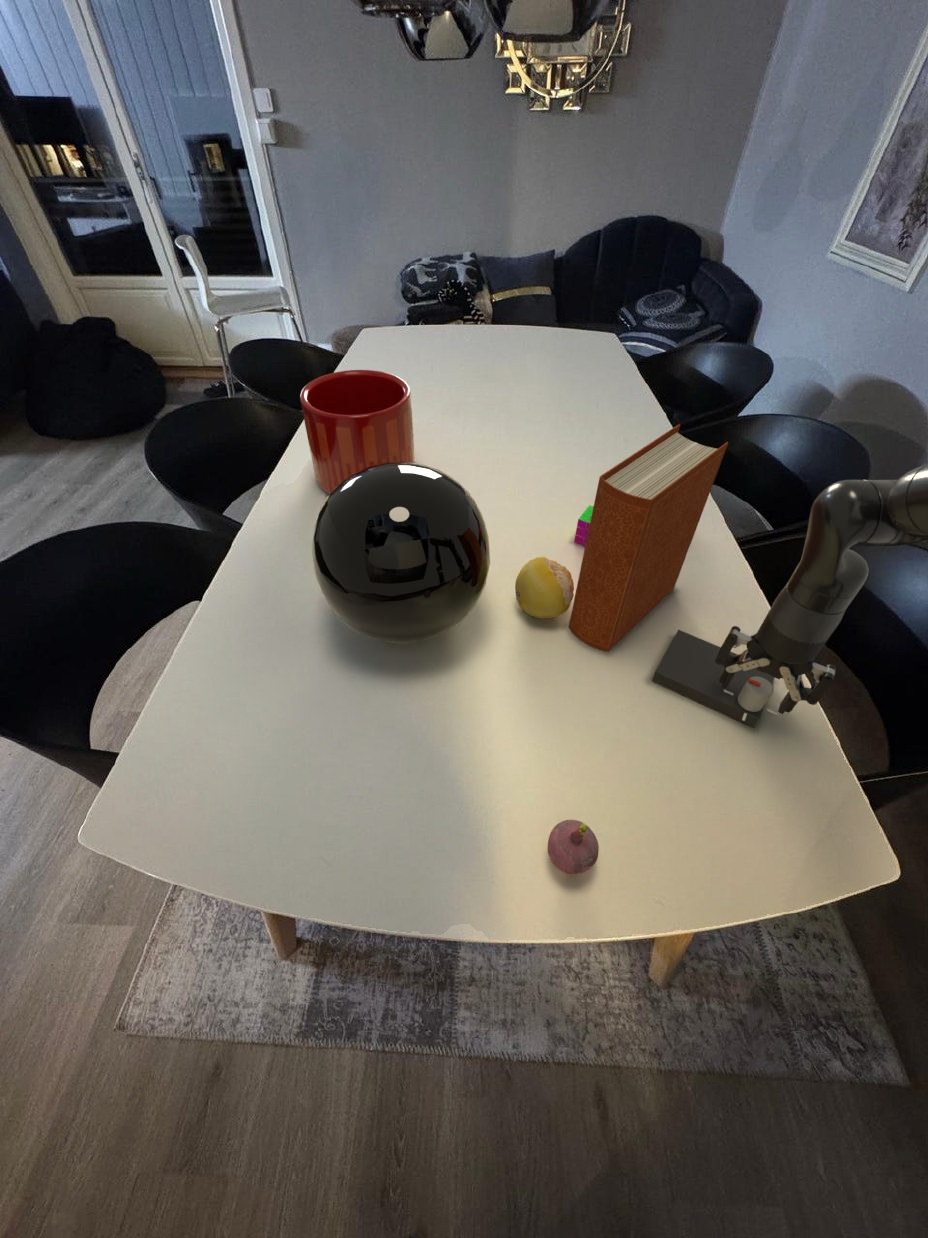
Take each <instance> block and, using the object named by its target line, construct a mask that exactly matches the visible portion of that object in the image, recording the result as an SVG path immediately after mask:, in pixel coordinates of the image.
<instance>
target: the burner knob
mask: <svg viewBox="0 0 928 1238" xmlns="http://www.w3.org/2000/svg"><path fill="white" fill-rule="evenodd" d="M773 692H774V687H773V684H772V685H771V683H770V682H769V681H767V680H766V679H764V678H762V677H757V676H754V677H751V678H749V679H748V680H747V682H746V684H745V685H744V687H743V689H742V691H741V692H740V694H739V696H738V702H739V704H740V705H741V707H743V708H744V709H746V710H748V711H751V712H758V711H760V710H761V709H762V708H763V706H764V705H765V706H766V703H767V702H768V700H769V699H770V697H772V695H773ZM765 706H764V707H765Z"/></svg>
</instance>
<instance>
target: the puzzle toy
mask: <svg viewBox="0 0 928 1238" xmlns="http://www.w3.org/2000/svg"><path fill="white" fill-rule="evenodd" d="M593 507H594V505H591V504H589V505H588V506H587V507H586V509H585V510H584V511H583V513H582V514H581V515H580V516H579V518H577V524H576V529H575V530H576V531H575V534H574V540H573V542H574V543H575V544H578V545H580V546H584V547H585V545H586V541H587V536H588V531H589V526H590V521H591V516H592V512H593Z"/></svg>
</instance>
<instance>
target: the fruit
mask: <svg viewBox="0 0 928 1238" xmlns="http://www.w3.org/2000/svg"><path fill="white" fill-rule="evenodd" d="M574 591H575V583H574V579H573V577H572V573H571V572H570V570H569V569H568V568H567V567H566V566H563V565H562V564H560V563H558V562H557V560H553V559H550V558H547V557H546V556H537V557H535V558H533V559H530V560H529V561H528V562H526V563H525V564H524V565H523V566H522V567H521V568H520V571H519V572H518V574H517V577H516V579H515V585H514V592H515V599H516V601H517V604H518V605H519V607H520V608H521V610H522V611H523V612H525V613H526V614H527V615H529V616H531V617H534V618H540V619H551V618H556V617H559V616H560V615H563V614H565V613H567V611H568V610H569V608H570V606H571V604H572V601H573V600H574V599H573V598H574V597H575V594H574Z"/></svg>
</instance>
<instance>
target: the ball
mask: <svg viewBox="0 0 928 1238" xmlns="http://www.w3.org/2000/svg"><path fill="white" fill-rule="evenodd" d="M328 494H329V495H328V496H327V497H326V499H325V500H324V502H323V503H322V505H321V506H320V509H319V512H318V515H317V517H316V520H315V523H314V526H313V532H312V538H311V539H312V540H311V557H312V563H313V564H312V566H313V570H314V574H315V577H316V581H317V584H318V588H319V590H320V593H321V594H322V596H323V597H324V599H325V601H326V602H327V604H328V605H329V607H330V609H331V610H332V612H333V613H334V614H335V615H336V616H337V617H338V618H339V619H341V621H343V622H344V624H346V626H348V627H349V628H351V629H352V630H354V631H356V632H358V633H359V634H361V635H364V636H366V637H369V638H371V639H372V640H376V641H380V642H384V643H385V642H386V643H392V644H393V643H395V644H410V643H420V642H423V641H426V640H430V639H433V638H435V637H437V636H440V635H441V634H444V633H445V632H447V631H449V630H451V629H452V628H453V627H455V626H456V625H458V624H459V623H460V622H462V621H463V620H464V619H465V618H466V617H467V616H468V615H469V614H470V613H471V612H472V610H473V609H474V607H476V605H477V603H478V601H479V600H480V598H481V596H482V594H483V592H484V591H485V587H486V584H487V582H488V581H487V580H488V577H489V571H490V565H491V554H490V553H491V551H490V537H489V533H488V530H487V529H488V528H487V526H486V523H485V520H484V517H483V513H482V512H481V510H480V507H478V504H477V503H476V501H475V499H474V498H473V496H472V495H471V493H470V492H469V491H468V490H467V489H466V488H465V487H464V486H463V485H462V484H461V483H460V482H459V481H458V480H456V479H454V477H452V476H450V475H449V474H447V473H446V472H444V471H442V470H440V469H438V468H434V467H431V466H428V465H425V464H422V463H416V462H415V463H410V462H385V463H381V464H377V465H372V466H369V467H367V468H365V469H362V470H360V471H358V472H356V473H354V474H353V475H351V476H349V477H348V478H346V479H345V480H343V481H342V482H341V483H340V484H339V485H338V486H337V487H336V488H335V489H334V490H333V491H332V492H331V493H328Z"/></svg>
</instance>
